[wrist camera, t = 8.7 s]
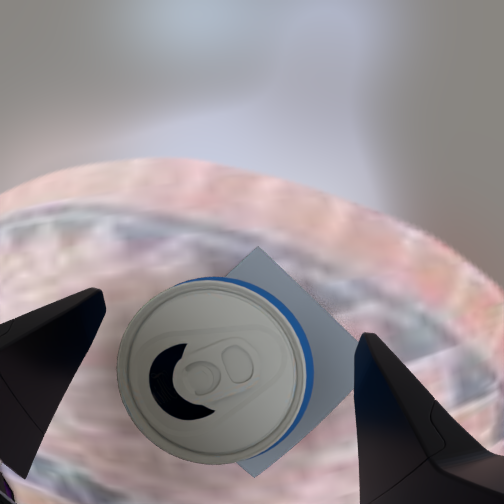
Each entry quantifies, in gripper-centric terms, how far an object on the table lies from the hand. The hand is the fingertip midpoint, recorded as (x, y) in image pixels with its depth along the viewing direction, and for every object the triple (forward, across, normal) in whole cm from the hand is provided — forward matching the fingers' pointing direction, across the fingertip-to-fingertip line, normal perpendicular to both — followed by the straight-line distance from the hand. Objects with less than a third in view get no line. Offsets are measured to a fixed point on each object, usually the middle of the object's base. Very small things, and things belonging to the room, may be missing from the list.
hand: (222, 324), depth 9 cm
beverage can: (+7, 0, +9) cm, 11 cm away
